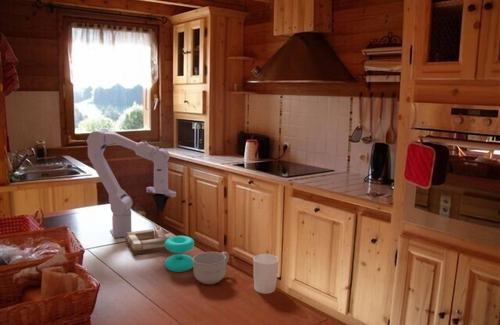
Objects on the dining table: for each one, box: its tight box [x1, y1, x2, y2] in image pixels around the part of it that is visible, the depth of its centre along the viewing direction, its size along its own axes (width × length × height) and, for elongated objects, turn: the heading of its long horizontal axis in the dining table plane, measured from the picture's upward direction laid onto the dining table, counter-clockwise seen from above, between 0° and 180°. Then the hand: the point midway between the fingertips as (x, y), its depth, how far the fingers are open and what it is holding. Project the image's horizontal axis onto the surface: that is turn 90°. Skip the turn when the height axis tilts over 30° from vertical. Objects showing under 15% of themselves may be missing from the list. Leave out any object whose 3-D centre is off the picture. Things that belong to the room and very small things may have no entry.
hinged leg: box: [154, 226, 167, 239], centre depth 166 cm, size 10×2×3 cm, turn 22°
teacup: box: [192, 251, 230, 285], centre depth 138 cm, size 14×11×8 cm
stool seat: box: [125, 228, 170, 257], centre depth 163 cm, size 14×14×4 cm
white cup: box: [252, 253, 280, 295], centre depth 132 cm, size 8×8×10 cm
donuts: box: [164, 235, 195, 273], centre depth 145 cm, size 10×10×10 cm
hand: (161, 211), depth 174 cm, fingers closed
